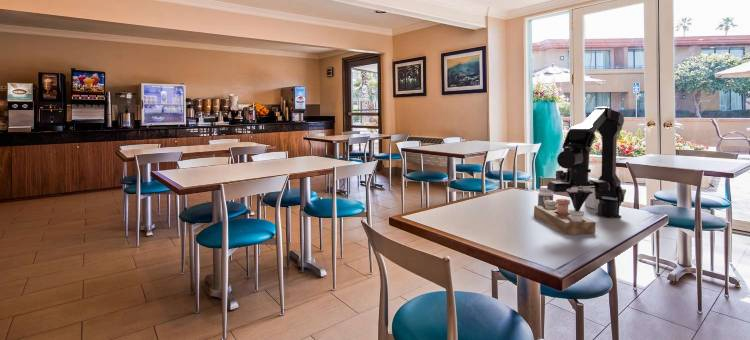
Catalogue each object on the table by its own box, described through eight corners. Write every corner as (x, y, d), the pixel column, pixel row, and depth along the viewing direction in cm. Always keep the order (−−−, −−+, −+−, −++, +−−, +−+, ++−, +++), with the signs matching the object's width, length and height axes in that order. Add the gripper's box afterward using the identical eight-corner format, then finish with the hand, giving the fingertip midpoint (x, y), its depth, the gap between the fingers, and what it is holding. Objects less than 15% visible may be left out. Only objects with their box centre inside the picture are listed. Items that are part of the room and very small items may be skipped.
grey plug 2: (578, 226, 144) (579, 209, 143) (586, 229, 139) (587, 212, 138) (565, 226, 144) (566, 209, 143) (572, 230, 139) (573, 212, 138)
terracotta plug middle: (565, 214, 153) (566, 198, 152) (571, 217, 148) (572, 201, 148) (553, 215, 153) (553, 199, 152) (559, 218, 148) (560, 201, 147)
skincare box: (603, 208, 172) (604, 179, 171) (593, 209, 171) (595, 180, 170) (592, 205, 178) (594, 177, 177) (583, 206, 177) (584, 178, 176)
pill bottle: (554, 212, 168) (555, 188, 166) (539, 212, 169) (540, 188, 167) (550, 209, 173) (551, 185, 172) (536, 208, 174) (537, 185, 173)
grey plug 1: (552, 215, 163) (553, 200, 162) (558, 218, 158) (559, 202, 157) (541, 215, 162) (542, 200, 162) (546, 218, 158) (547, 203, 157)
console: (558, 214, 164) (559, 205, 163) (595, 233, 139) (595, 221, 138) (533, 215, 163) (534, 205, 162) (565, 234, 138) (566, 222, 138)
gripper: (592, 161, 147) (590, 204, 149) (541, 163, 146) (539, 206, 148) (612, 165, 136) (609, 212, 138) (556, 167, 135) (554, 214, 137)
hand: (576, 210), depth 141 cm, fingers closed, pressing on grey plug 2
